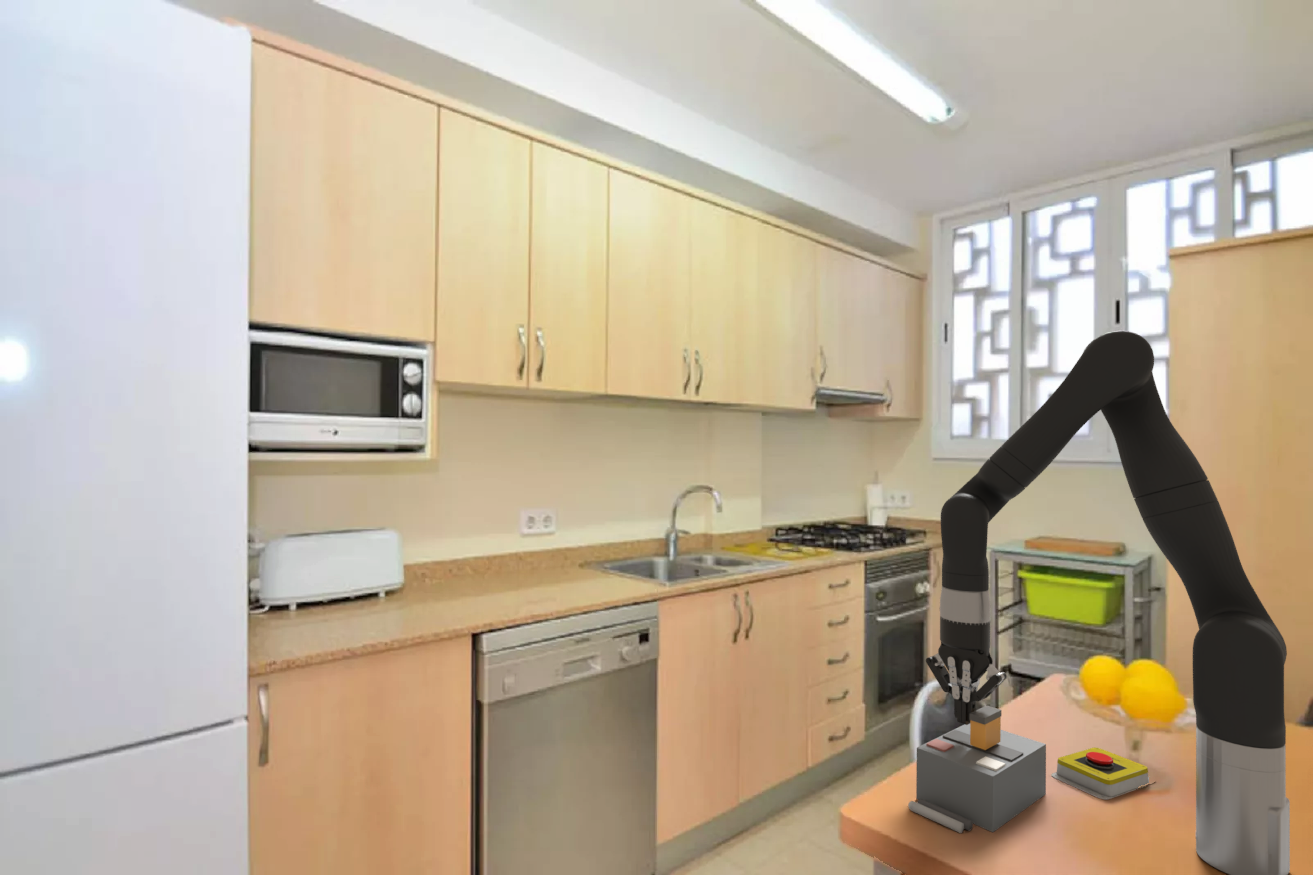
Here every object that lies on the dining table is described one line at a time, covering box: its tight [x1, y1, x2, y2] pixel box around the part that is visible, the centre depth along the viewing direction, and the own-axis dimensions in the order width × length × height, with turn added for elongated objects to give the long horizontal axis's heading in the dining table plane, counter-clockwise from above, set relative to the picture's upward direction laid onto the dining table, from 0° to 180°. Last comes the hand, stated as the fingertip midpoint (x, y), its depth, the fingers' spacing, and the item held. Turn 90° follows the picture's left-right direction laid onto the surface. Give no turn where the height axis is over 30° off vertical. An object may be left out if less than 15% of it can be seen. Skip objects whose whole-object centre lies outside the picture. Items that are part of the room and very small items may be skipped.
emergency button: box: [1050, 747, 1150, 801], centre depth 116 cm, size 9×4×15 cm
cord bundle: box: [907, 799, 974, 834], centre depth 102 cm, size 9×3×1 cm, turn 39°
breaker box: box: [915, 724, 1047, 833], centre depth 110 cm, size 12×18×8 cm, turn 129°
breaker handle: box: [970, 705, 1002, 750], centre depth 109 cm, size 2×6×5 cm, turn 129°
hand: (964, 722), depth 112 cm, fingers closed
